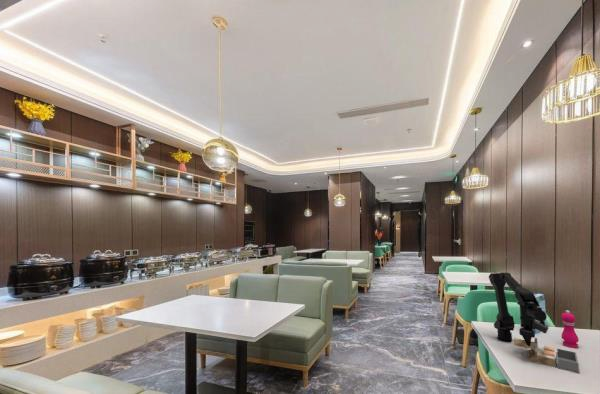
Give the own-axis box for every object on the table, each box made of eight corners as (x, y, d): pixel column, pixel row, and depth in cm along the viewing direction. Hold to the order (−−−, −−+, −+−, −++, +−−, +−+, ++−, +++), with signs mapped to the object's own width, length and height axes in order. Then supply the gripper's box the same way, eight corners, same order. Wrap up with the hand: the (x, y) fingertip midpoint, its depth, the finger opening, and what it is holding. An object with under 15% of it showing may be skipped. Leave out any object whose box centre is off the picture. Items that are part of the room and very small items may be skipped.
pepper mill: (582, 349, 161) (579, 312, 163) (567, 348, 162) (564, 311, 164) (573, 343, 168) (570, 308, 170) (559, 342, 169) (556, 308, 171)
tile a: (544, 354, 146) (544, 352, 146) (544, 352, 149) (544, 349, 149) (554, 357, 143) (554, 354, 143) (554, 354, 146) (554, 351, 146)
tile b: (544, 350, 150) (544, 348, 150) (544, 348, 153) (544, 345, 153) (554, 353, 148) (554, 350, 148) (554, 350, 151) (554, 348, 151)
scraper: (513, 347, 153) (512, 340, 154) (514, 340, 162) (514, 333, 163) (537, 353, 147) (536, 345, 147) (537, 345, 156) (537, 338, 156)
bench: (527, 360, 148) (527, 352, 149) (528, 351, 159) (528, 343, 159) (556, 367, 141) (555, 358, 141) (555, 357, 152) (554, 349, 152)
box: (557, 367, 140) (556, 358, 141) (556, 356, 152) (555, 348, 152) (579, 373, 135) (578, 363, 136) (576, 361, 147) (575, 352, 147)
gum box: (538, 327, 194) (536, 293, 196) (547, 330, 190) (545, 294, 192) (523, 332, 186) (520, 296, 188) (532, 335, 181) (529, 298, 183)
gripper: (546, 323, 143) (548, 355, 141) (546, 314, 157) (548, 343, 155) (518, 318, 150) (520, 349, 149) (520, 310, 164) (522, 338, 163)
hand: (528, 345), depth 154 cm, fingers closed on scraper, 2 cm apart
